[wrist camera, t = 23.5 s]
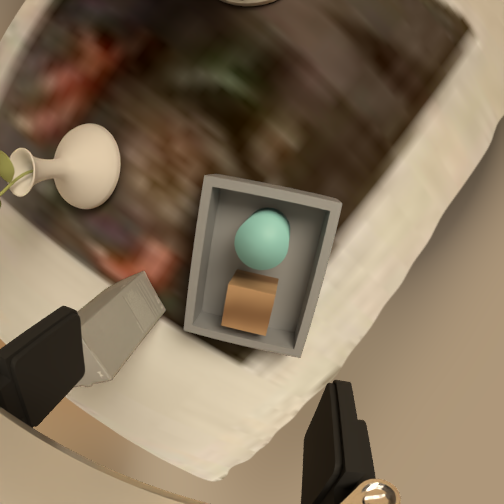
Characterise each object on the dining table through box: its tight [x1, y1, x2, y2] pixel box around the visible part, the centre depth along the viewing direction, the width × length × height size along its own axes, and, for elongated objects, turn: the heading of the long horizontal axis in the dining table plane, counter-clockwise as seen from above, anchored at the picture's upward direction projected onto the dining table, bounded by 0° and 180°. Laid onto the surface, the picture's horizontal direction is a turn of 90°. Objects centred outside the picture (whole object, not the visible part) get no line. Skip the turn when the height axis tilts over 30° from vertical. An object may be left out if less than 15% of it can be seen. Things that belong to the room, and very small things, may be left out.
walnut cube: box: [221, 269, 279, 336], centre depth 36 cm, size 5×5×5 cm
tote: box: [184, 174, 342, 358], centre depth 36 cm, size 18×14×5 cm
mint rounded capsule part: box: [234, 208, 290, 270], centre depth 33 cm, size 5×5×7 cm
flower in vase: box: [0, 123, 121, 209], centre depth 27 cm, size 13×11×25 cm
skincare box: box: [74, 271, 166, 387], centre depth 35 cm, size 8×7×16 cm
